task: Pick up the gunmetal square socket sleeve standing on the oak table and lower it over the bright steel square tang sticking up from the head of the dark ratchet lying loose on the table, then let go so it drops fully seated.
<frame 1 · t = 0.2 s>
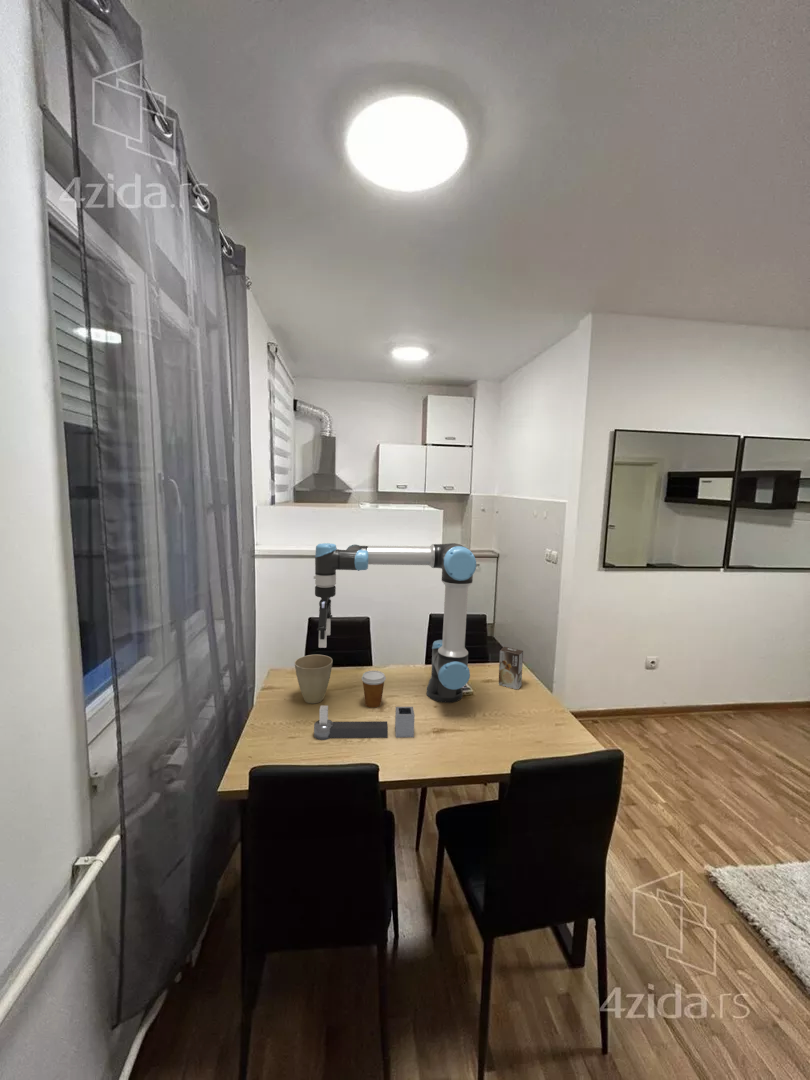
hand: (324, 641, 164), 28 cm above the table, fingers open, 13 cm apart
ratchet: (349, 734, 151), on the table
disposable coffee cup: (373, 704, 174), on the table
socket: (404, 732, 154), on the table
plant pot: (313, 699, 176), on the table
coffee box: (509, 685, 195), on the table
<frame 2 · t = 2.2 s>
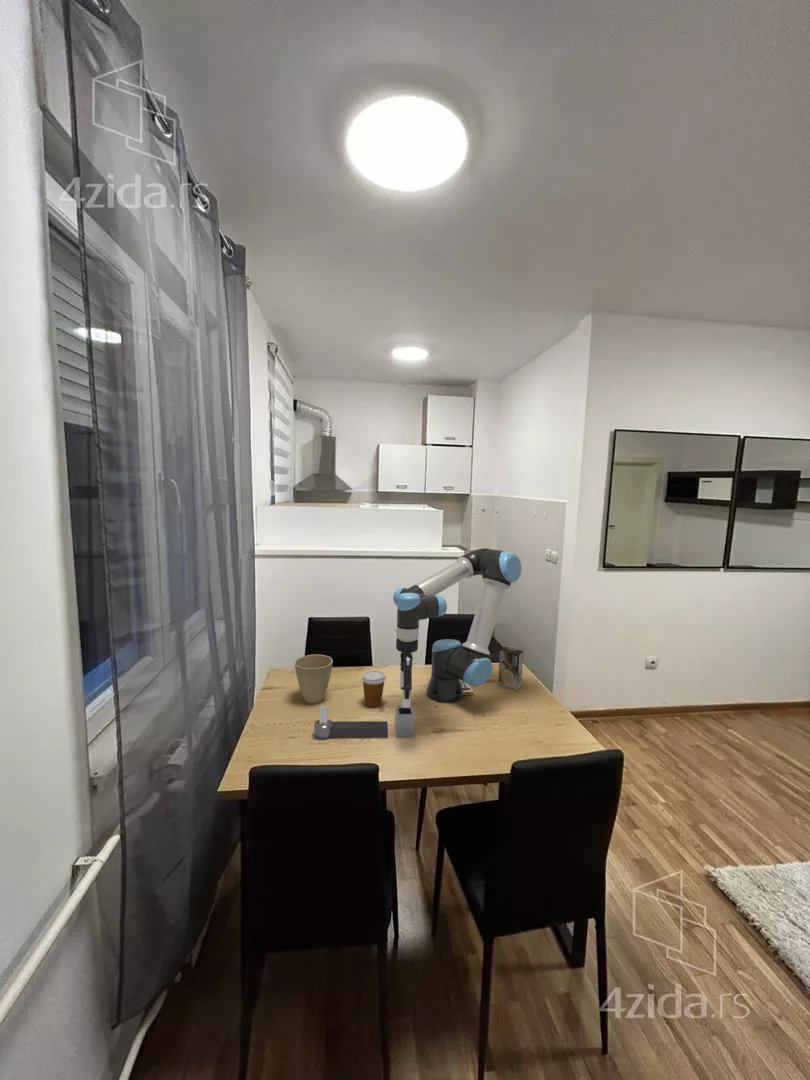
hand: (404, 697, 152), 13 cm above the table, fingers open, 13 cm apart
nothing on the table moved.
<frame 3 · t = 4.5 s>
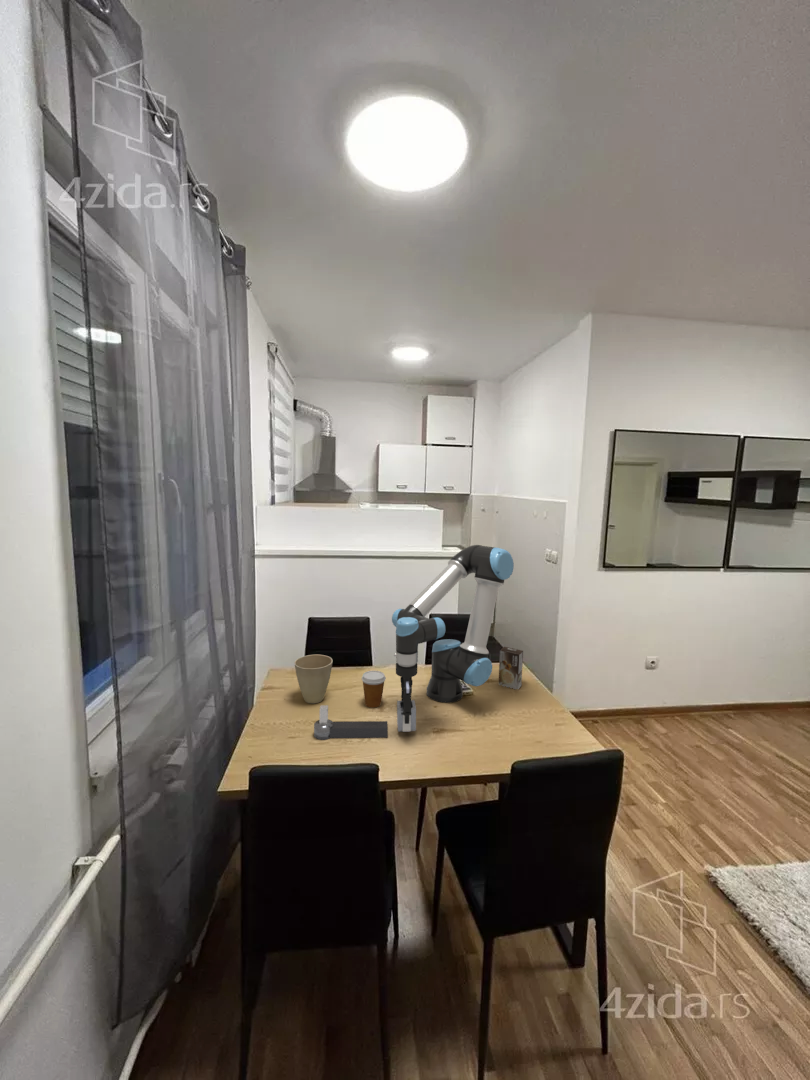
hand: (405, 725, 154), 2 cm above the table, fingers closed on socket, 6 cm apart
socket: (406, 726, 154), point 2 cm above the table, touching gripper
everything else where it was.
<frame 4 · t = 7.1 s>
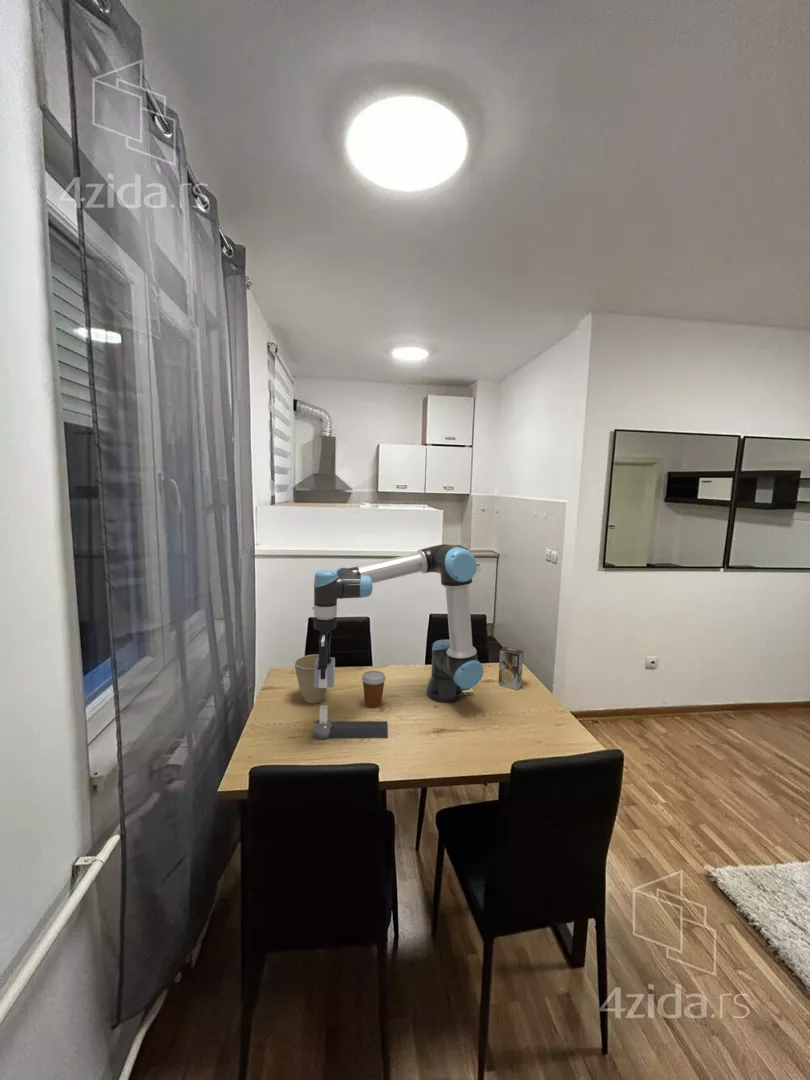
hand: (324, 682, 149), 19 cm above the table, fingers closed on socket, 6 cm apart
socket: (324, 683, 149), point 19 cm above the table, touching gripper
everything else where it was.
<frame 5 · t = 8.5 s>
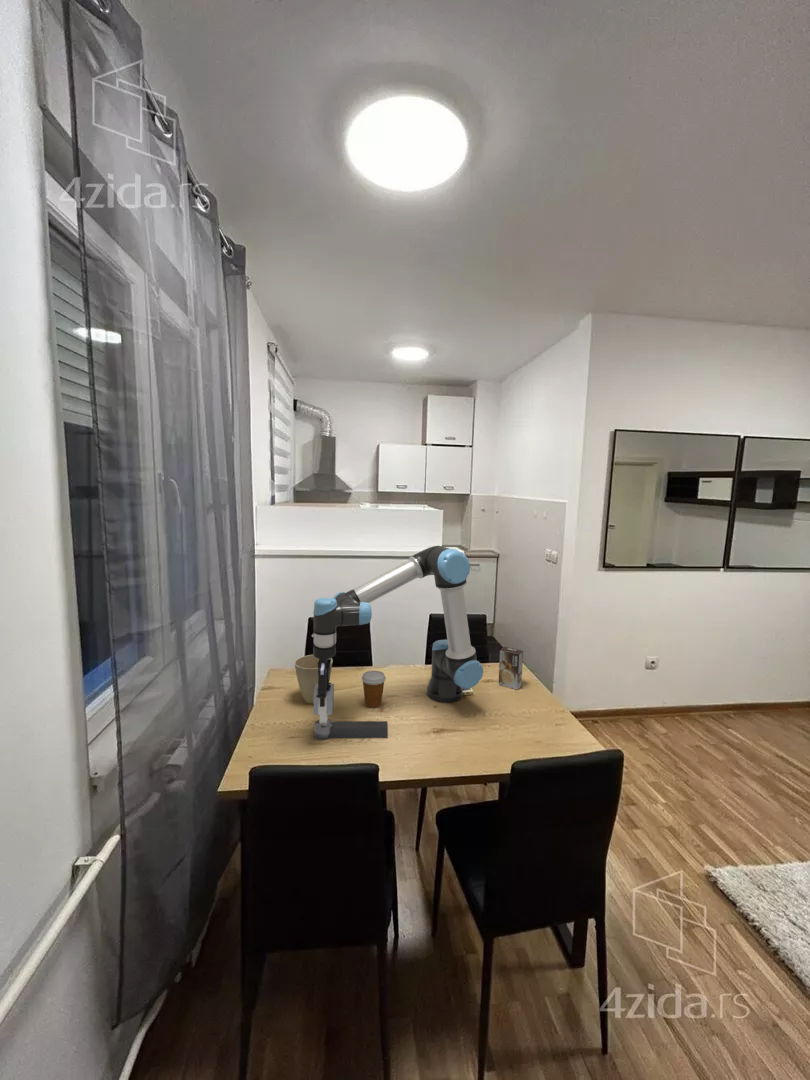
hand: (323, 709, 150), 9 cm above the table, fingers closed on socket, 6 cm apart
socket: (323, 710, 150), point 9 cm above the table, touching gripper
everything else where it was.
when the fingers open (6 cm above the table, at t = 9.5 s): socket drops 2 cm, resting on ratchet.
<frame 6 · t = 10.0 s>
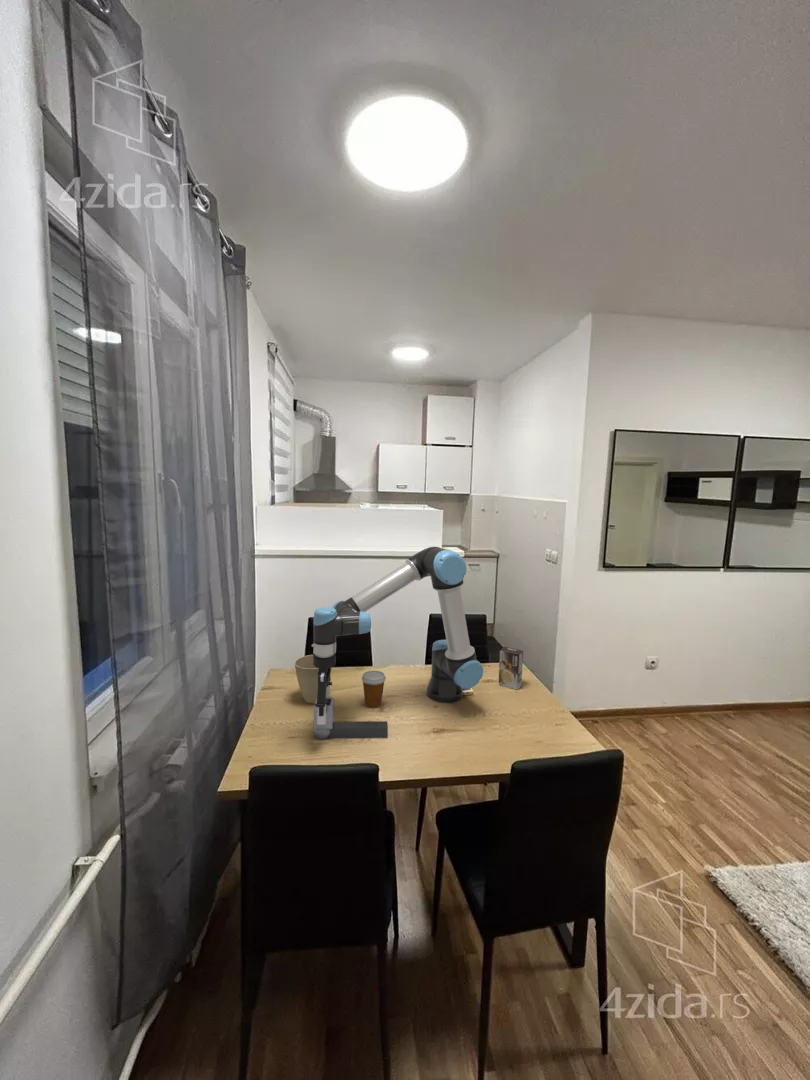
hand: (323, 713, 150), 8 cm above the table, fingers open, 13 cm apart
ratchet: (349, 734, 151), on the table, touching socket
socket: (324, 723, 150), point 4 cm above the table, touching ratchet
everything else where it was.
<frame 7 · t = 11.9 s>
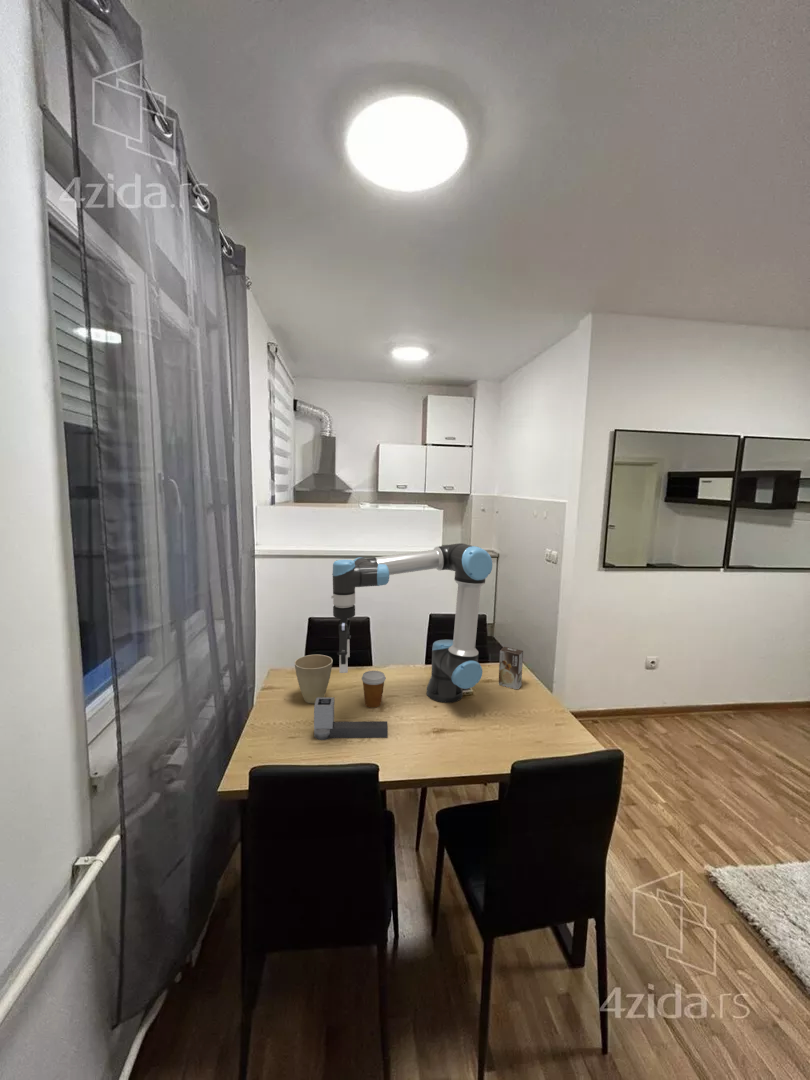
hand: (344, 664, 152), 24 cm above the table, fingers open, 13 cm apart
nothing on the table moved.
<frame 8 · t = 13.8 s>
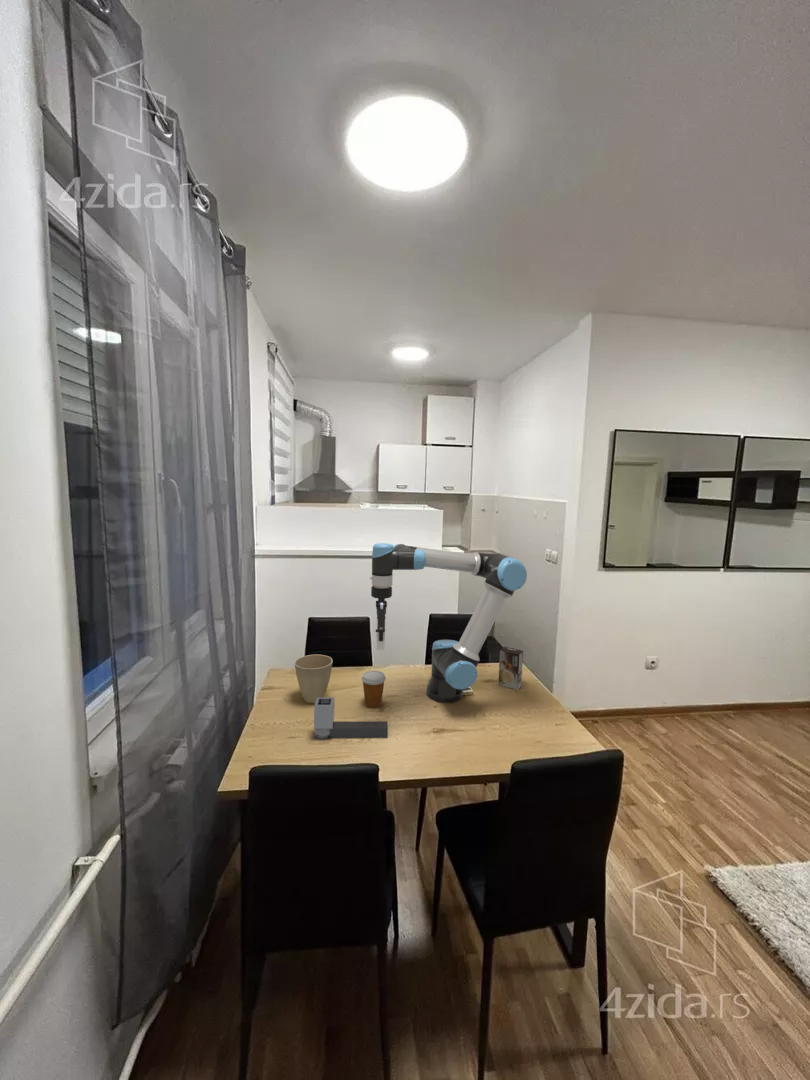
hand: (380, 642, 161), 29 cm above the table, fingers open, 13 cm apart
ratchet: (349, 734, 151), on the table
socket: (324, 723, 150), point 4 cm above the table
everything else where it was.
at the end: socket 0.2 cm from the target spot on the ratchet, point 4.0 cm above the ratchet's base; socket tilted 0°; the gripper is holding nothing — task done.
